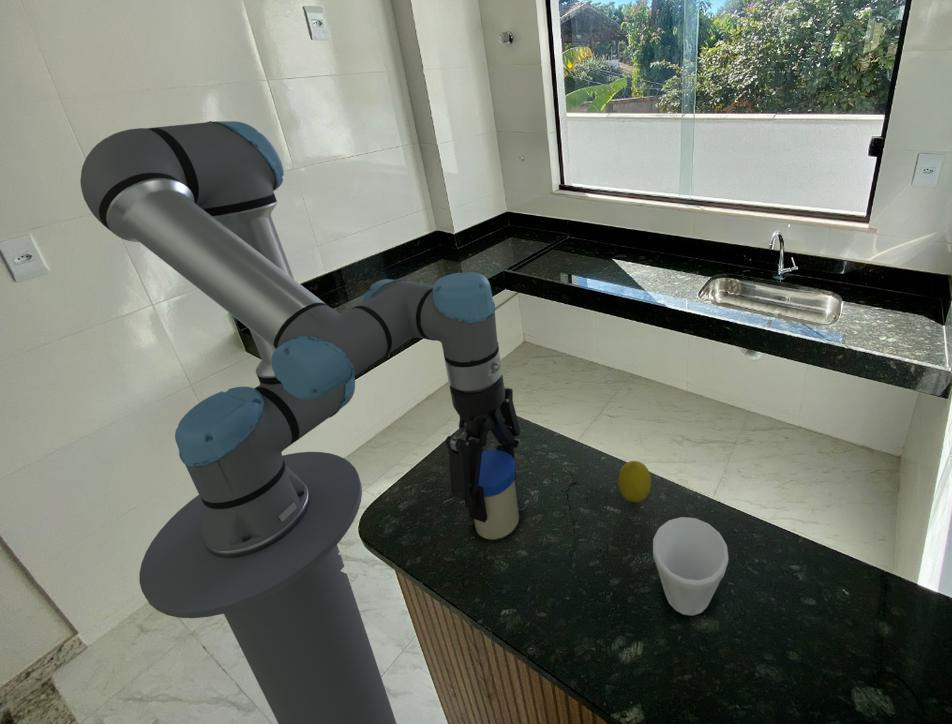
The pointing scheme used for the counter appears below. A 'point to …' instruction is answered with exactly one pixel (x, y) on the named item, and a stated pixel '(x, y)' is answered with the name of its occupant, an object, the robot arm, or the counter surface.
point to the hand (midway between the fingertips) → (494, 497)
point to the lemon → (634, 481)
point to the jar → (499, 514)
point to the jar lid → (496, 472)
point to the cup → (689, 563)
